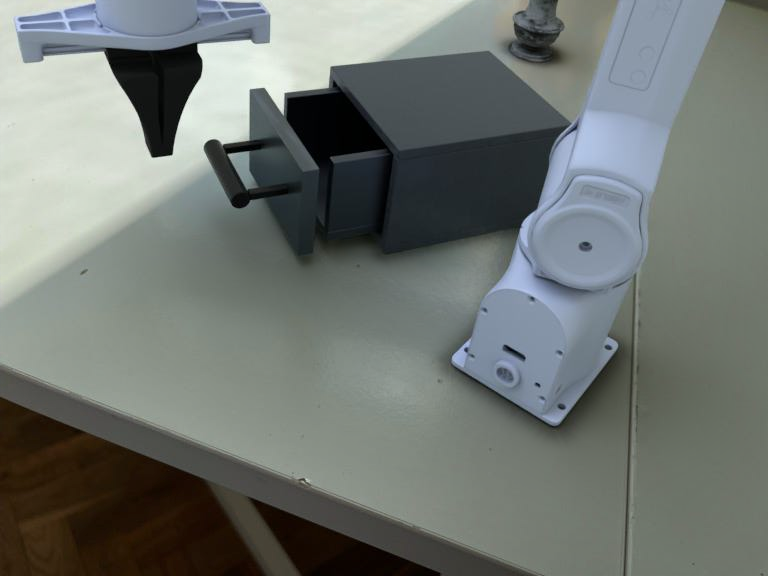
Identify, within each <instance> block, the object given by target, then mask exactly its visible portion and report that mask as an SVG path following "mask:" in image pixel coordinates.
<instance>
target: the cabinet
mask: <svg viewBox="0 0 768 576" xmlns="http://www.w3.org/2000/svg"><path fill="white" fill-rule="evenodd" d="M329 67H330V68H329V79H328V88H332V87H340V88H341V90H342V91H343V92H344V93H345V95H346V96H347V97H348V98H349V100H350V101H351V102H352V103H353V105H354V106H355V107H356V108H357V110H358V111H359V112H360V113H361V115H362V116H363V117H364V118H365V119H366V121H367V122H368V123H369V124H370V126H371V127H372V128H373V129H374V131H375V132H376V133H377V134H378V136H379V137H380V138H381V139H382V141H383V142H384V143H385V144H386V146H387V147H388V148H389V149H390V151H391V152H392V153H393V154H394V156H393V163H392V170H391V177H390V183H389V190H388V197H387V204H386V211H385V218H384V225H383V231H378V232H373V233H369V234H370V236H371V238H372V239H373V240H374V242H375V243H376V244H377V246H378V248H379V249H380V251H381V252H382V253H383V255H388V254H391V253H392V254H393V253H397V252H402V251H407V250H412V249H417V248H423V247H426V246H431V245H436V244H441V243H446V242H450V241H455V240H460V239H461V240H462V239H465V238H470V237H475V236H480V235H485V234H489V233H495V232H501V231H505V230H509V229H514V228H519V227H520V228H521V225H522V223H523V221H524V220H525V219H526V218H527V217H528V216H529V215H530V214H531V213H533V212H534V211H535V210H537V207H538V204H539V201H540V197H541V194H542V190H543V187H544V183H545V180H546V176H547V173H548V169H549V156H550V153H551V150H552V147H553V145H554V143H555V141H556V140H557V138H558V137H559V136H560V134H561V133H563V132H564V131H565V130H566V129H567V128H568V127H569V126H570V125H571V124H572V123H573V122H571V121H570V120H569V119H568V118H566V117H565V116H564V115H563V114H562V113H561V112H559V111H558V110H557V109H556V107H554V106H553V105H552V104H550V103H549V102H548V100H546V99H545V98H544V97H542V96H541V95H540V94H539V93H538V92H537V91H536V90H535V89H533V88H532V87H531V86H530V85H529V84H527V82H526V81H524V80H523V79H522V78H521V77H519V75H517V74H516V73H515V72H514V71H513V70H512V69H511V68H510V67H508V65H506V64H505V63H504V62H502V60H501V59H499V57H497V56H496V55H495V54H494V53H492V52H491V51H490V50H480V51H471V52H462V53H461V52H460V53H453V54H452V53H451V54H441V55H440V54H439V55H430V56H420V57H410V58H400V59H390V60H381V61H369V62H360V63H352V64H350V63H349V64H339V65H330V66H329Z"/></svg>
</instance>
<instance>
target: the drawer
mask: <svg viewBox="0 0 768 576" xmlns="http://www.w3.org/2000/svg"><path fill="white" fill-rule="evenodd" d="M283 95H284V96H283V97H284V98H283V112H282V111H281V109H279V107H278V105H277V104H276V102H275V100H274V99H273V98H272V96H271V95H270V93H269V92H268V90H267V89H266V87H256V88H249V99H248V101H249V102H248V103H249V104H248V105H249V109H248V111H249V114H248V115H249V116H248V117H249V119H248V120H249V122H248V123H249V127H248V129H249V131H248V133H249V137H248V139H249V140H244V141H235V142H229V143H223V144H222V142H221V141H220V140H219V139H216V138H213V139H212V138H211V139H209V140H207V141H206V142H205V143H204V145H203V152H204V154H205V156H206V158H207V160H208V162H209V164H210V166H211V168H212V169H213V171H214V173H215V175H216V177H217V179H218V181H219V183H220V185H221V188H222V189H223V191H224V193H225V195H226V197H227V199H228V201H229V203H230V205H231V206H232V207H233V208H235V209H237V210H239V209H244V208H246V207H247V206H248V205H249V204H250V202H251V201H255V200H260V199H261V200H262V199H264V200H265V201H266V203H267V205H268V206H269V208H270V210H271V212H272V214H273V215H274V217H275V219H276V221H277V223H278V224H279V226H280V228H281V229H282V231H283V233H284V234H285V237H286V238H287V240H288V241H289V243H290V245H291V246H292V249H293V251H294V253H295V255H296V256H297V257H303V256H308V255H313V254H314V249H315V237H316V236H315V233H316V226H317V228H318V229H319V231H320V232H321V234H322V236H323V237H324V239H325V240H326V242H330V241H335V240H341V239H347V238H351V237H357V236H363V235H368V234H370V233H373V232H378V231H383V225H384V218H385V211H386V204H387V197H388V190H389V183H390V177H391V170H392V163H393V156H394V154H393V153H392V152H391V151H390V149H389V148H388V147H387V146H386V144H385V143H384V142H383V141H382V139H381V138H380V137H379V136H378V134H377V133H376V132H375V131H374V129H373V128H372V127H371V126H370V124H369V123H368V122H367V121H366V119H365V118H364V117H363V116H362V115H361V113H360V112H359V111H358V110H357V108H356V107H355V106H354V105H353V103H352V102H351V101H350V100H349V98H348V97H347V96H346V95H345V93H344V92H343V91H342V90H341V88H340V87H332V88H329V87H325V88H323V87H322V88H315V89H306V90H297V91H288V92H284V93H283ZM246 152H248V155H249V156H248V157H249V159H248V161H249V163H248V171H249V173H250V175H251V176H252V178H253V180H254V181H255V184H256V185H257V187H253V188H248V189H247V188H246V185H245V184H244V182H243V180H242V179H241V177H240V175H239V173H238V171H237V169H236V167H235V165H234V164H233V162H232V160H231V158H230V156H229V155H231V154H240V153H246Z"/></svg>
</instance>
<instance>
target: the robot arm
mask: <svg viewBox="0 0 768 576" xmlns="http://www.w3.org/2000/svg"><path fill="white" fill-rule="evenodd" d="M725 2H726V0H618V3H617V6H616V9H615V12H614V14H613V18H612V20H611V21H612V22H611V24H610V27H609V30H608V33H607V36H606V40H605V42H604V45H603V48H602V51H601V54H600V57H599V60H598V63H597V66H596V68H595V71H594V75H593V78H592V81H591V83H590V85H589V88H588V90H587V92H586V94H585V97H584V100H583V104H582V107H581V109H580V111H579V114H578V115H577V116H576V118H575V119H574V121H573V122H571V123H572V124H571V125H570V126H569V127H568V128H567V129H566V130H565V131H564V132H563V133H561V134H560V136H559V137H558V138H557V140H556V141H555V143H554V145H553V147H552V150H551V153H550V156H549V169H548V173H547V176H546V180H545V183H544V187H543V190H542V194H541V197H540V201H539V204H538V207H537V210H535V211H534V212H533V213H531V214H530V215H529V216H528V217H527V218H526V219H525V220H524V221H523V223H522V225H521V226H520V228H519V232H518V235H517V239H516V241H515V245H514V248H513V249H514V250H513V253H512V256H511V260H510V263H509V266H508V267H507V269H506V271H505V273H504V274H503V276H502V277H501V278H500V279H499V281H497V282H496V284H495V285H494V286H493V287H492V288H491V289H490V290H489V291H488V292H487V293H486V295H484V297H483V299H482V301H481V303H480V305H479V309H478V312H477V315H476V320H475V323H474V327H473V330H472V334H471V337H470V338H469V339H468V340H467V341H466V342H465V343H464V344H463V345H462V346H461V347H460V348H459V349H458V350H457V351H456V352H455V353H454V354H452V357H451V365H452V366H454V367H455V368H457V369H458V370H460V371H462V372H463V373H465V374H467V375H468V376H469V377H471V378H473V379H475V380H477V381H478V382H480V383H481V384H482V385H484V386H485V387H488V388H489V389H491V390H493V391H494V392H496V393H497V394H499V395H501V396H503V397H504V398H505V399H507V400H509V401H511V402H512V403H513V404H516V405H517V406H519V407H520V408H522V409H524V410H525V411H527V412H528V413H530V414H531V415H533V416H535V417H536V418H538V419H539V420H541V421H543V422H545V423H546V424H547V425H549V426H553V427H556V426H559V425H560V424H561V423H562V422H563V420H564V419H565V418H566V417H567V415H568V414H569V413H570V412H571V410H572V409H573V407H574V406H575V405H576V403H577V402H578V401H579V400H580V398H581V397H582V396H583V395H584V393H585V392H586V391H587V389H588V388H589V387H590V386H591V384H592V383H593V382H594V381H595V379H596V378H597V376H598V375H600V373H601V371H602V370H603V369H604V367H606V365H607V364H608V363H609V361H610V360H611V358H613V356H614V355H615V353H616V352H617V351H618V348H619V343H618V342H617V341H616V340H615V339H612V338H611V337H609V336H608V335H609V332H610V331H611V328H612V326H613V323H614V321H615V320H616V317H617V314H618V312H619V311H620V307H621V305H622V303H623V301H624V298H625V296H626V294H627V291H628V289H629V287H630V284H631V282H632V280H633V277H634V275H635V274H636V273H637V272H638V271H639V269H640V268H641V267H642V266H643V264H644V263H645V260H646V258H647V255H648V251H649V245H650V244H649V231H648V230H649V229H648V225H649V224H648V223H649V213H650V202H651V200H652V198H653V195H654V194H655V193H654V192H655V190H656V186H657V183H658V179H659V176H660V172H661V169H662V164H663V160H664V157H665V152H666V148H667V145H668V142H669V138H670V135H671V130H672V127H673V125H674V123H675V120H676V118H677V116H678V113H679V111H680V108H681V106H682V104H683V102H684V100H685V97H686V95H687V92H688V90H689V87H690V85H691V82H692V80H693V78H694V75H695V73H696V71H697V68H698V66H699V64H700V61H701V59H702V56H703V54H704V52H705V49H706V47H707V44H708V43H709V40H710V38H711V35H712V33H713V31H714V28H715V26H716V23H717V21H718V18H719V17H720V14H721V12H722V9H723V7H724V4H725ZM13 22H14V27H15V32H16V37H17V42H18V47H19V51H20V56H21V59H22V62H23V64H33V63H40V62H41V63H42V62H43V61H44V57H53V56H54V57H55V56H63V55H64V56H66V55H79V54H90V53H102V52H103V53H104V56H105V58H106V61H107V63H108V65H109V68H110V70H111V72H112V75H113V76H114V78H115V80H116V81H117V83H118V85H119V86H120V87H121V89H122V91H123V93H124V94H125V95H126V97H127V98H128V100H129V101H130V103H131V105H132V106H133V109H134V111H135V112H136V114H137V116H138V119H139V122H140V126H141V128H142V132H143V136H144V143H145V146H146V148H147V150H148V152H149V155H150V157H151V158H153V159H155V158H156V159H157V158H163V157H171V156H173V155H174V147H175V141H176V136H177V132H178V129H179V124H180V121H181V118H182V115H183V113H184V110H185V107H186V104H188V103H187V102H188V100H189V98H190V96H191V94H192V92H193V91H194V89H195V87H196V86H197V84H198V83H199V81H200V80H201V78H202V74H203V68H204V67H203V66H204V64H203V63H204V62H203V61H204V60H203V58H202V56H201V54H200V53H199V49H198V46H199V45H203V44H205V45H206V44H215V43H227V42H228V43H231V42H240V41H241V42H242V41H251V42H252V44H255V45H265V44H270V43H271V13H270V12H269V11H268V9H267V8H266V6H265V5H264V4H263V3H262V1H232V0H231V1H230V0H228V1H227V0H94V2H91V3H86V4H81V5H76V6H72V7H66V8H63V9H57V10H52V11H48V12H43V13H36V14H29V15H28V14H27V15H16V16H13Z"/></svg>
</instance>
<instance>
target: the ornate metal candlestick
mask: <svg viewBox="0 0 768 576" xmlns="http://www.w3.org/2000/svg"><path fill="white" fill-rule="evenodd" d="M558 4H559V0H529V1H528V3H527V6H526V8H525V9H523V10H518V11H516V12H514V13H513V15H512V21H513V32H514V35H515V37H516V40H513V41H512V42H510V43H508V45H507V49H508V51H509V52H510V53H511V54H512V55H513V56H515V57H516V58H519V59H521V60H524V61H527V62H533V63H534V62H535V63H544V62H545V63H547V62H549V61H551V60H553V59H554V56H555V53H554V51H553V49H552V48H551V47H550V46H551V45H552V44H554V43H555V42H556V41H557V39H558V38H559V37H560V35H561V32H563V31H564V30H565V28H566V26H565V22H564V21H563V20H562V19H560V18H559V17H557V7H558Z"/></svg>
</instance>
